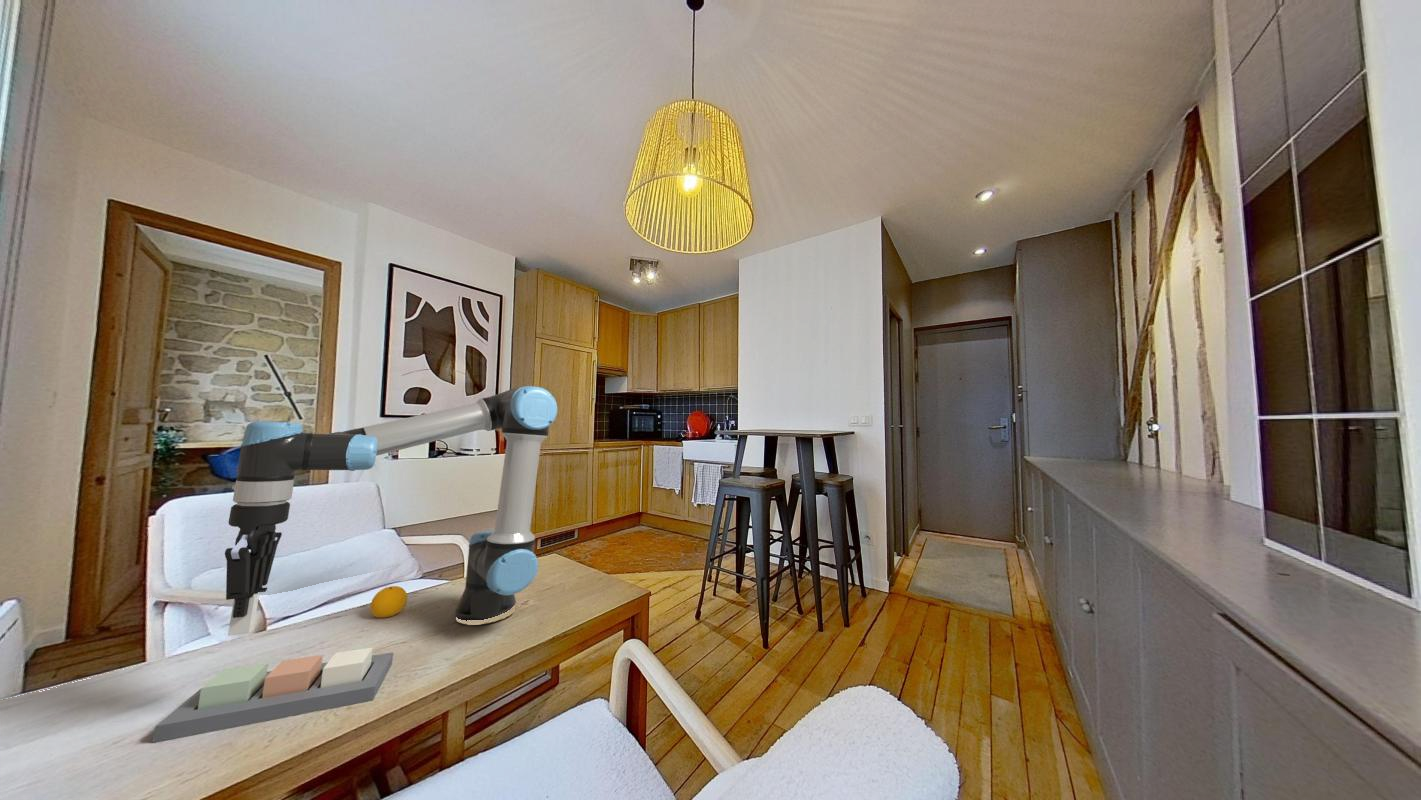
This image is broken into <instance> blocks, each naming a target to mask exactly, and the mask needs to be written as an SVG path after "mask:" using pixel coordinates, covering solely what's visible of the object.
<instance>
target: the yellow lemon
mask: <svg viewBox="0 0 1421 800" xmlns="http://www.w3.org/2000/svg"><path fill="white" fill-rule="evenodd" d="M407 602H408V593H407V592H406V590H405V589H404V588H403V587H401V586H398V585H397V586H396V585H392V586H386V587H385V588H382V589H381V590H379V591H378V592H377V593H376V594H375V595H374V597H373V598H372V599H371V603H370V611H371V613H372V615H373V616H375V617H377V618H382V619H383V618H391V617H393V616H395V614H396V615H397V613H398V614H399V613H400V612H401V611H403V610H404V609H405V607H406V605H407Z"/></svg>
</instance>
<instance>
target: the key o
mask: <svg viewBox="0 0 1421 800" xmlns="http://www.w3.org/2000/svg"><path fill="white" fill-rule="evenodd" d="M268 666H269V662H266V663H264V662H263V663H258V664H253V665H252V664H251V665H245V666H237V667H231V668H225V669H223V670H221V671H220V672H218V673H217V674H216V675H215V676H214V677H213V678H211V679H210V680H209V681H208V682H207V683H205V684H204V685H203V686H201V688H200V689H201V692H200V698H199V705H198V709H203V708H209V707H214V706H220V705H226V704H232V703H237V702H243V701H249V700H250V699H251V698H252V697H253V696H254V695H255V694H254V693H255V692H256V691H257V690H258V689H259V688H260V687H261V686H262V685H263V684H264V682H265V678H266V675H267V672H268ZM253 694H254V695H253Z"/></svg>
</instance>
